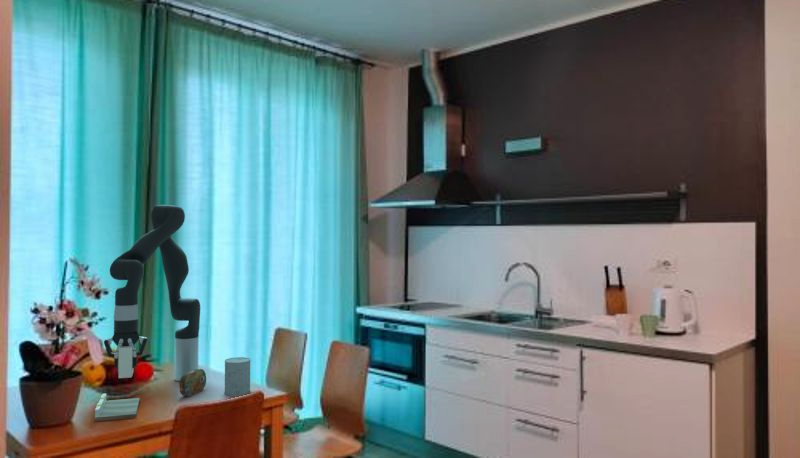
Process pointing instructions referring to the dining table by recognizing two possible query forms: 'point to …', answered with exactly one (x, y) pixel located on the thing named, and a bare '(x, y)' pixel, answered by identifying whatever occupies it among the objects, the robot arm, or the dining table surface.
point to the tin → (192, 382)
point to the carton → (125, 361)
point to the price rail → (100, 405)
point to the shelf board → (119, 409)
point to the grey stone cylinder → (237, 376)
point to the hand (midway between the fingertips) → (125, 368)
